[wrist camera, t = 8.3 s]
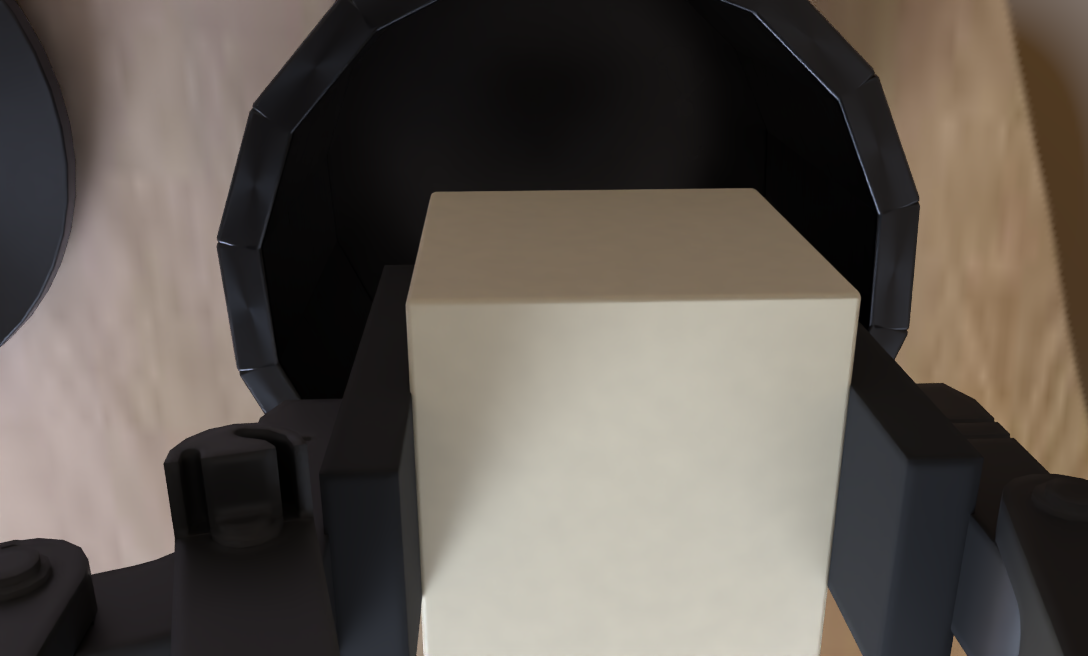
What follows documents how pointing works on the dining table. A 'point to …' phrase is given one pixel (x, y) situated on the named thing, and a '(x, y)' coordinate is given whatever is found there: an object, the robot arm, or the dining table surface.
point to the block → (625, 423)
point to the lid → (30, 171)
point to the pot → (543, 149)
